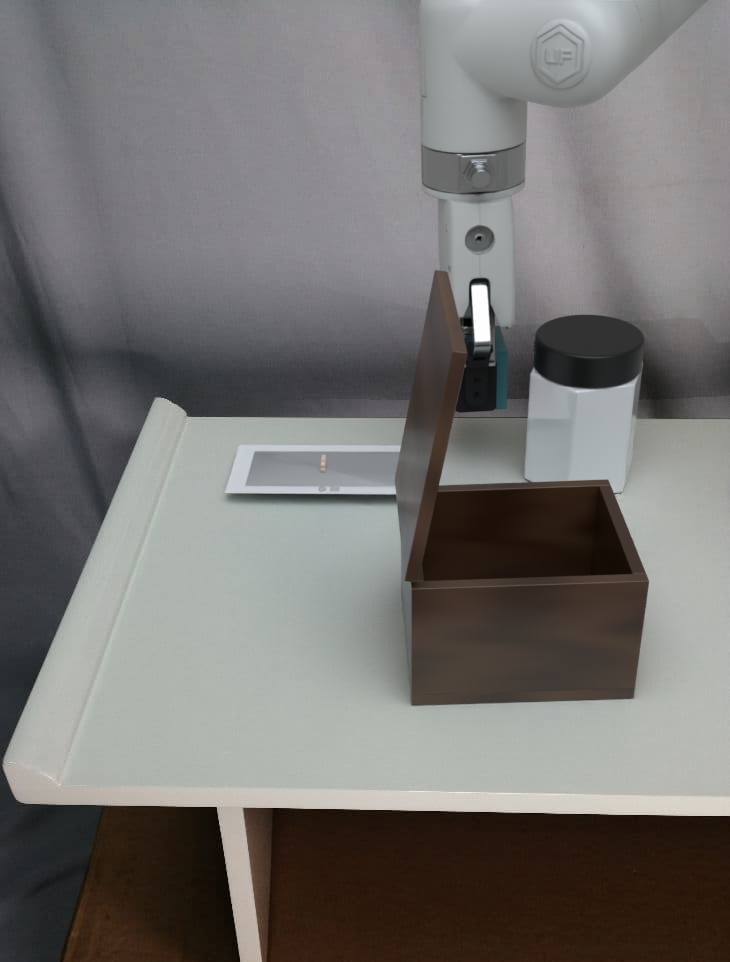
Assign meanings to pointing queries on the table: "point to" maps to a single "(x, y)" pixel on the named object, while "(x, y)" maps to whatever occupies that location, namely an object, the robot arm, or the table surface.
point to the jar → (583, 400)
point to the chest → (525, 596)
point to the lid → (429, 422)
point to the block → (499, 367)
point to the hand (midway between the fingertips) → (471, 391)
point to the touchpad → (314, 469)
